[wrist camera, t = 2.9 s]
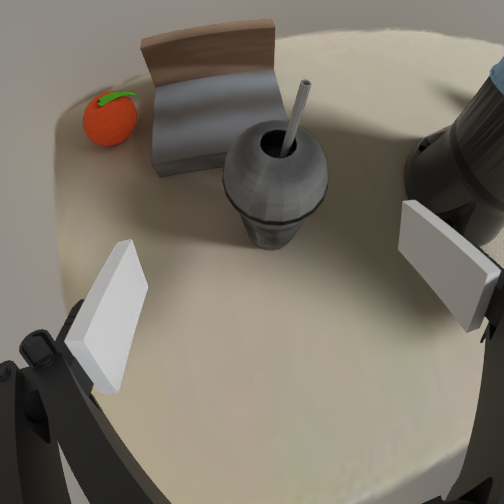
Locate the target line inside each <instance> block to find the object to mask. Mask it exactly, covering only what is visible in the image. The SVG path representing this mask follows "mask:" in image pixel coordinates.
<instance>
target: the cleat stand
mask: <svg viewBox="0 0 504 504" xmlns="http://www.w3.org/2000/svg"><path fill="white" fill-rule="evenodd" d="M140 49H141V51H142V54H143V57H144V59H145V62H146V64H147V67H148V69H149V72H150V74H151V77H152V79H153V82H154V85H155V87H156V88H155V101H154V117H153V137H152V166H153V167H154V169H155V171H156V172H157V174H158V176H159V177H164V176H169V175H175V174H180V173H186V172H192V171H198V170H205V169H211V168H218V167H224V165H225V159H226V155H227V153H228V151H229V149H230V148H231V146H232V144H233V142H234V140H235V139H236V138H237V137H238V136H239V135H240V134H241V133H242V132H244V131H245V130H246V129H247V128H249V127H251V126H253V125H255V124H257V123H260V122H265V121H270V120H280V121H287V117H286V114H285V110H284V106H283V102H282V98H281V94H280V91H279V87H278V83H277V80H276V76H275V72H274V49H275V26H274V23H273V20H272V19H262V20H249V21H238V22H229V23H221V24H214V25H207V26H201V27H194V28H190V29H184V30H178V31H174V32H169V33H164V34H160V35H156V36H152V37H148V38H144V39H142V42H141V48H140ZM287 122H288V121H287Z"/></svg>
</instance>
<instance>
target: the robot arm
mask: <svg viewBox="0 0 504 504" xmlns="http://www.w3.org/2000/svg"><path fill="white" fill-rule="evenodd" d="M405 186H406V191H407V194H408V198H409V200H407V201H402V214H401V225H400V234H399V243H398V250H399V251H400V252H401V254H402V255H403V256H404V257H405V258H406V259H407V260H408V261H409V262H410V264H411V265H412V266H413V267H414V268H415V269H416V271H417V272H418V273H419V274H420V275H421V276H422V278H423V279H424V280H425V281H426V282H427V283H428V285H429V286H430V287H431V288H432V289H433V291H434V292H435V293H436V294H437V296H438V297H439V298H440V299H441V300H442V302H443V303H444V304H445V305H446V307H447V308H448V309H449V311H450V312H451V313H452V314H453V316H454V317H455V318H456V320H457V321H458V322H459V323H460V325H461V326H462V327H463V329H464V330H465V331H466V333H468V332H470V331H473V330H475V329H478V328H480V326H481V323H482V321H483V319H484V316H485V317H486V318H487V319H488V320H489V323H488V325H487V327H486V330H485V332H484V334H483V336H482V338H481V341H480V343H482V342H483V340H484V339H485V338H486V341H485V354H484V364H483V372H482V380H481V387H480V393H479V399H478V405H477V410H476V416H475V420H474V425H473V430H472V434H471V438H470V442H469V446H468V450H467V454H466V457H465V460H464V464H463V467H462V470H461V473H460V476H459V477H458V479H457V481H456V482H455V484H454V485H453V487H452V488H451V490H450V492H449V494H448V496H447V498H446V500H442V499H441V496H438V497H436V498H434V499H431V500H429V501H427V502H425V503H422V504H504V269H503V268H502V267H501V266H500V265H499V264H498V263H497V262H495V261H494V260H493V259H492V258H490V257H489V255H488V254H486V253H484V251H483V250H482V249H481V248H479V247H481V246H483V245H485V244H487V243H489V242H490V241H491V240H493V239H494V238H495V237H496V236H497V234H498V233H499V232H500V230H501V229H502V228H503V226H504V57H503V58H502V59H501V61H500V62H499V63H498V64H496V65H494V66H493V67H492V69H491V71H490V76H489V77H488V79H487V80H486V81H485V83H484V84H483V86H482V87H481V88H480V90H479V91H478V92H477V94H476V95H475V96H474V98H473V99H472V100H471V101H470V103H469V104H468V105H467V106H466V108H465V109H464V110H463V111H462V113H461V114H460V115H459V117H458V118H457V119H456V120H455V122H454V123H453V124H452V125H450V126H448V127H446V128H443V129H441V130H439V131H437V132H435V133H433V134H431V135H429V136H427V137H425V138H424V139H423V140H421V141H420V142H419V143H418V144H417V146H416V147H415V148H414V150H413V151H412V152H411V154H410V155H409V157H408V160H407V162H406V166H405ZM147 290H148V285H147V282H146V279H145V276H144V273H143V270H142V268H141V265H140V262H139V259H138V256H137V253H136V250H135V247H134V243H133V240H132V239H129V240H124V241H118V242H117V244H116V245H115V247H114V249H113V250H112V252H111V254H110V255H109V257H108V259H107V261H106V262H105V264H104V266H103V268H102V269H101V271H100V273H99V275H98V276H97V278H96V280H95V282H94V284H93V285H92V287H91V289H90V291H89V293H88V295H87V297H86V299H81V300H80V301H79V302H78V303H77V304H76V305H75V306H74V307H73V308H72V309H71V311H70V313H69V315H68V318H67V319H66V321H65V323H64V326H63V327H62V329H61V331H60V333H59V335H58V337H57V339H56V341H54V340H53V338H52V337H51V335H50V334H49V333H48V331H47V330H43V329H42V330H36V331H34V332H32V333H30V334H29V335H28V336H26V337H25V338H24V340H23V341H22V342H21V345H20V347H19V352H20V354H21V355H22V356H23V358H24V359H25V361H26V362H27V363H28V365H29V367H26V368H23V369H19V368H18V367H17V365H16V364H15V363H14V362H13V361H10V360H9V361H5V362H3V363H1V364H0V504H71V500H70V497H69V493H68V489H67V485H66V481H65V477H64V472H63V468H62V463H61V458H60V453H59V447H58V442H59V445H60V447H61V449H62V451H63V453H64V456H65V458H66V460H67V462H68V464H69V466H70V468H71V470H72V472H73V474H74V476H75V478H76V479H77V481H78V483H79V485H80V487H81V489H82V490H83V492H84V494H85V496H86V497H87V499H88V501H89V502H90V504H171V502H170V501H169V500H168V499H167V498H166V497H165V496H164V494H163V493H162V492H161V491H160V490H159V489H158V487H157V486H156V485H155V484H154V483H153V481H152V480H151V479H150V478H149V476H148V475H147V474H146V473H145V471H144V470H143V469H142V467H141V466H140V465H139V464H138V462H137V461H136V460H135V458H134V457H133V455H132V454H131V453H130V451H129V450H128V449H127V447H126V446H125V444H124V443H123V441H122V440H121V438H120V437H119V436H118V434H117V433H116V431H115V430H114V428H113V427H112V425H111V423H110V422H109V420H108V419H107V417H106V416H105V414H104V412H103V411H102V409H101V407H100V406H99V404H98V402H97V401H96V399H95V397H94V396H93V395H92V394H91V391H92V387H93V384H94V386H95V387H96V389H97V390H98V391H99V392H100V394H119V390H120V386H121V381H122V377H123V373H124V370H125V366H126V362H127V358H128V354H129V351H130V347H131V343H132V340H133V336H134V333H135V329H136V326H137V322H138V319H139V315H140V312H141V309H142V306H143V302H144V299H145V296H146V293H147ZM57 440H58V441H57Z"/></svg>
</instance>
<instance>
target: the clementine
mask: <svg viewBox="0 0 504 504" xmlns="http://www.w3.org/2000/svg"><path fill="white" fill-rule="evenodd" d="M126 95H136V94H135V93H132V92H128V91H118V92H105V93H103V94H100V95H99V96H97V97H95V98H94V99H93V100H92V101H91V102H90V103H89V104H88V106H87V108H86V110H85V113H84V116H83V127H84V130H85V132H86V134H87V136H88V137H89V138H90V139H91V140H92V141H93V142H94V143H97V144H99V145H103V146H111V145H116V144H118V143H121V142H122V141H124V140H125V139H126V138H128V137H129V135H130V134H131V133H132V131H133V129H134V127H135V125H136V121H137V111H136V107H135V105H134V103H133V102H132V100H131V99H130V98H129V97H127V96H126ZM136 96H138V95H136ZM138 97H139V96H138ZM140 98H141V97H140Z"/></svg>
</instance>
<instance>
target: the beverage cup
mask: <svg viewBox="0 0 504 504" xmlns="http://www.w3.org/2000/svg"><path fill="white" fill-rule="evenodd" d="M310 87H311V82H310V81H308V80H302V81H301V83H300V86H299V90H298V93H297V97H296V100H295V104H294V107H293V111H292V114H291V118H290V121H289V122H287V121H280V120H270V121H265V122H260V123H257V124H255V125H253V126H251V127H249V128H247V129H246V130H245V131H244V132H242V133H241V134H240V135H239V136H238V137H237V138H236V139H235V140H234V142H233V144H232V146H231V148H230V149H229V151H228V153H227V155H226V159H225V165H224V171H223V179H222V181H223V185H224V189H225V193H226V196H227V197H228V199H229V200H230V202H231V203H232V205H233V206H234V208H235V209H236V210H238V212H239V213H240V215H241V218H242V220H243V223H244V225H245V227H246V230H247V232H248V234H249V236H250V238H251V239H252V241H253V242H254V243H255V244H256V245H257V246H258V247H260V248H262V249H265V250H277V249H280V248H282V247H283V246H285V245H286V244H287V243H288V242H289V241H290V240H291V239H292V237H293V236H294V235H295V233H296V232H297V230H298V229H299V227H300V226H301V224H302V223H303V221H304V220H305V219H306V218H307V217H308V216H309V215H311V214H313V213H314V212H315V210H316V209H317V208H318V207H319V206H320V204H321V203H322V202H323V200H324V197H325V194H326V191H327V188H328V170H327V160H326V157H325V155H324V152H323V150H322V147H321V145H320V144H319V143H318V141H317V140H316V139H315V138H314V137H313V136H312V135H311V133H310V132H308V131H307V130H305V129H304V128H302V127H301V126H299V122H300V118H301V115H302V112H303V109H304V106H305V103H306V100H307V97H308V94H309V91H310Z"/></svg>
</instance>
